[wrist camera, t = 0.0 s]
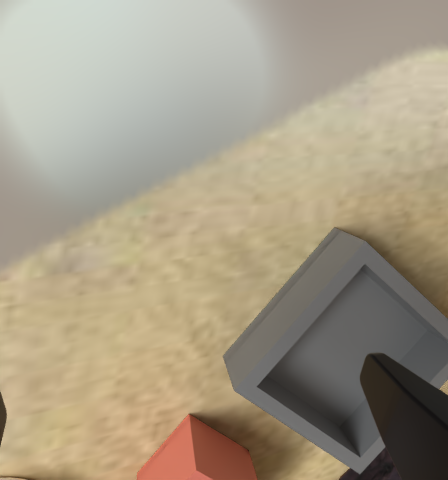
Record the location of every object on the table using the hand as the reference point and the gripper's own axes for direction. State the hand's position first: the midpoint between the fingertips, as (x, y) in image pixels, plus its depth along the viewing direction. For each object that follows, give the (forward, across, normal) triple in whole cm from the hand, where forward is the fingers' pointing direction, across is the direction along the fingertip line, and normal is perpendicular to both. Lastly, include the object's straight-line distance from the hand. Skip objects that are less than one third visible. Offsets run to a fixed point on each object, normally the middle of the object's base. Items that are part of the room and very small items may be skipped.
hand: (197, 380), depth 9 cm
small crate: (+11, -1, +21) cm, 23 cm away
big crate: (+13, -12, +12) cm, 21 cm away
